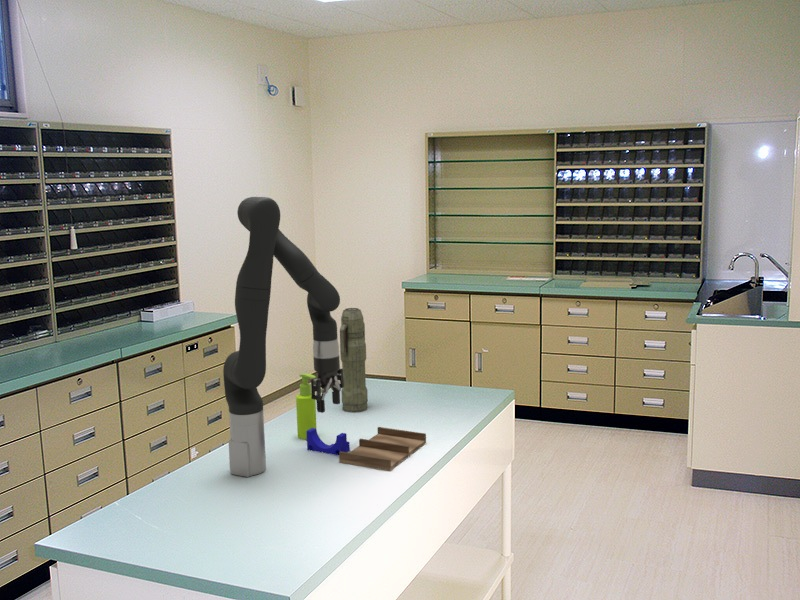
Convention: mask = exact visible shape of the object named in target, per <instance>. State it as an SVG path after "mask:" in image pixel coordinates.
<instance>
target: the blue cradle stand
mask: <svg viewBox="0 0 800 600" xmlns="http://www.w3.org/2000/svg"><path fill="white" fill-rule="evenodd" d="M317 429H318V428H316V429H315V428H311V429H309V430H307V440H306V450H307V451H311V450H312V451H313V452H318V453H322V452H323V453H324V454H329V455H333V456H334V455H335V456H339V452H340V451H342V452H348V453H349V452H351V450H350V449H351V448H350V446H351V445H350V441H348V440H347V435H348V434H347V433H346V432H341V433H339V434H337V435H336V438H335V443H331V444H327V443H325V442H323V440H322V439H321V438H320V436H319V434H318V430H317ZM323 453H322V454H323Z"/></svg>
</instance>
